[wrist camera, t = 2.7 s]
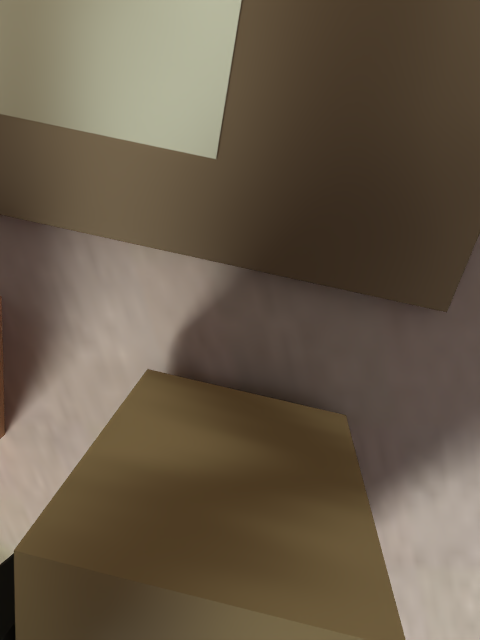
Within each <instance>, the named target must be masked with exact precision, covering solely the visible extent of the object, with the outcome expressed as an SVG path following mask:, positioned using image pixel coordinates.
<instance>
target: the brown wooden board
mask: <svg viewBox="0 0 480 640" xmlns="http://www.w3.org/2000/svg"><path fill="white" fill-rule="evenodd" d="M0 215H4V216H9V217H13V218H18V219H23V220H27V221H32V222H36V223H41V224H45V225H50V226H55V227H59V228H64V229H68V230H73V231H77V232H82V233H87V234H91V235H96V236H100V237H105V238H109V239H114V240H119V241H123V242H128V243H132V244H137V245H141V246H146V247H151V248H155V249H160V250H164V251H169V252H173V253H178V254H183V255H187V256H192V257H196V258H201V259H205V260H210V261H215V262H219V263H224V264H228V265H233V266H237V267H242V268H247V269H251V270H256V271H260V272H265V273H269V274H274V275H279V276H283V277H288V278H292V279H297V280H301V281H306V282H311V283H315V284H320V285H324V286H329V287H333V288H338V289H343V290H347V291H352V292H356V293H361V294H365V295H370V296H375V297H379V298H384V299H388V300H393V301H397V302H402V303H407V304H411V305H416V306H420V307H425V308H429V309H434V310H439V311H443V312H447V311H448V308H449V306H450V303H451V301H452V299H453V296H454V294H455V291H456V289H457V286H458V284H459V282H460V279H461V277H462V274H463V272H464V270H465V267H466V265H467V262H468V260H469V257H470V255H471V253H472V250H473V248H474V245H475V243H476V241H477V238H478V236H479V233H480V0H0Z"/></svg>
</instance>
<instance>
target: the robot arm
mask: <svg viewBox="0 0 480 640" xmlns="http://www.w3.org/2000/svg"><path fill="white" fill-rule="evenodd" d="M0 640H16V635H15V584H14V553H13V554H12V555H11V556H10V557H9V558H8V559H6V560H5V561H4V562H3V563H2V564H0Z"/></svg>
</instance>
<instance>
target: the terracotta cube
mask: <svg viewBox="0 0 480 640" xmlns="http://www.w3.org/2000/svg"><path fill="white" fill-rule="evenodd" d="M4 435H5V418H4V377H3V337H2V297H1V296H0V439H1V438H2V437H3V436H4Z"/></svg>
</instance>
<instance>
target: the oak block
mask: <svg viewBox="0 0 480 640" xmlns="http://www.w3.org/2000/svg"><path fill="white" fill-rule="evenodd" d="M14 584H15V635H16V640H405V636H404V633H403V629H402V625H401V621H400V617H399V614H398V610H397V606H396V602H395V599H394V595H393V591H392V587H391V584H390V580H389V576H388V572H387V569H386V565H385V561H384V557H383V554H382V550H381V546H380V542H379V538H378V535H377V531H376V527H375V523H374V520H373V516H372V512H371V508H370V505H369V501H368V497H367V493H366V490H365V486H364V482H363V478H362V475H361V471H360V467H359V463H358V459H357V456H356V452H355V448H354V444H353V441H352V437H351V433H350V429H349V426H348V422H347V418H346V415H343V414H338V413H334V412H330V411H325V410H321V409H317V408H313V407H308V406H304V405H300V404H295V403H291V402H287V401H282V400H278V399H274V398H269V397H265V396H261V395H257V394H252V393H248V392H244V391H239V390H235V389H231V388H226V387H222V386H218V385H213V384H209V383H205V382H200V381H196V380H192V379H188V378H183V377H179V376H175V375H170V374H166V373H162V372H157V371H153V370H149V369H147V371H146V372H145V373H144V375H143V376H142V377H141V379H140V380H139V382H138V383H137V384H136V386H135V387H134V388H133V390H132V391H131V392H130V394H129V395H128V396H127V398H126V399H125V401H124V402H123V403H122V405H121V406H120V407H119V409H118V410H117V411H116V413H115V414H114V415H113V417H112V418H111V419H110V421H109V422H108V424H107V425H106V426H105V428H104V429H103V430H102V432H101V433H100V434H99V436H98V437H97V438H96V440H95V441H94V443H93V444H92V445H91V447H90V448H89V449H88V451H87V452H86V453H85V455H84V456H83V457H82V459H81V460H80V462H79V463H78V464H77V466H76V467H75V468H74V470H73V471H72V472H71V474H70V475H69V476H68V478H67V479H66V481H65V482H64V483H63V485H62V486H61V487H60V489H59V490H58V491H57V493H56V494H55V495H54V497H53V498H52V500H51V501H50V502H49V504H48V505H47V506H46V508H45V509H44V510H43V512H42V513H41V514H40V516H39V517H38V519H37V520H36V521H35V523H34V524H33V525H32V527H31V528H30V529H29V531H28V532H27V533H26V535H25V536H24V538H23V539H22V540H21V542H20V543H19V544H18V546H17V547H16V548H15V550H14Z"/></svg>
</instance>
